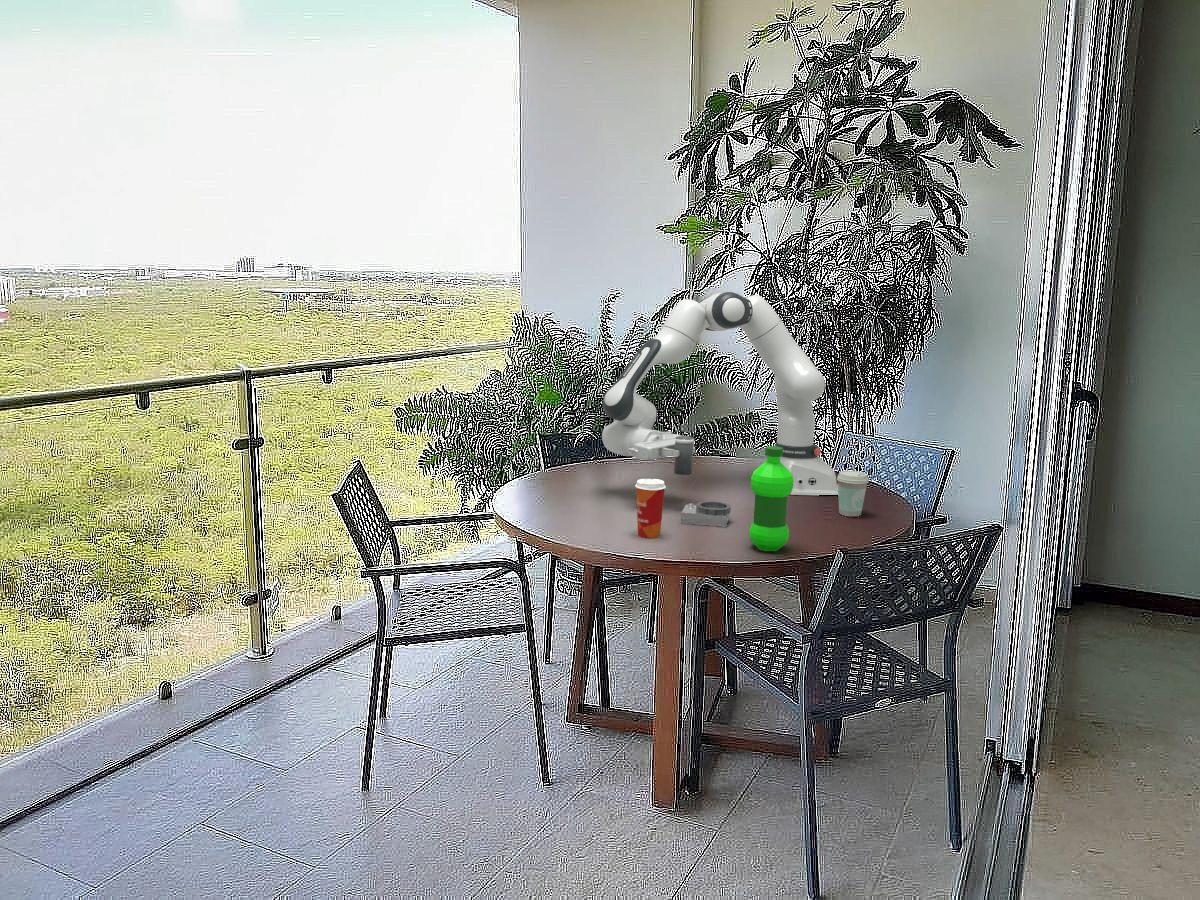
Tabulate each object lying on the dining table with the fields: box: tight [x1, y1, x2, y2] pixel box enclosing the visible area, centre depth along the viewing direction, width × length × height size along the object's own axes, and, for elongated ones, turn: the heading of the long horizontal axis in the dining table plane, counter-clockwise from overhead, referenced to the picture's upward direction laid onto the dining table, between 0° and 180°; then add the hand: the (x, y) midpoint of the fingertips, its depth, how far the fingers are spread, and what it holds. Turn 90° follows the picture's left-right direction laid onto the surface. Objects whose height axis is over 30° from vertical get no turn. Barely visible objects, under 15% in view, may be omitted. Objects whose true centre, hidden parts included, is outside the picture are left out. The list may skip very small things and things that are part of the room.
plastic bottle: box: [748, 445, 794, 552], centre depth 224 cm, size 10×10×25 cm
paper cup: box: [635, 478, 667, 539], centre depth 234 cm, size 8×8×14 cm
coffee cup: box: [836, 470, 870, 516], centre depth 258 cm, size 9×8×12 cm
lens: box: [673, 435, 695, 476], centre depth 257 cm, size 5×5×10 cm
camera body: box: [680, 500, 732, 528], centre depth 249 cm, size 12×9×4 cm
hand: (686, 452), depth 256 cm, fingers closed on lens, 5 cm apart
